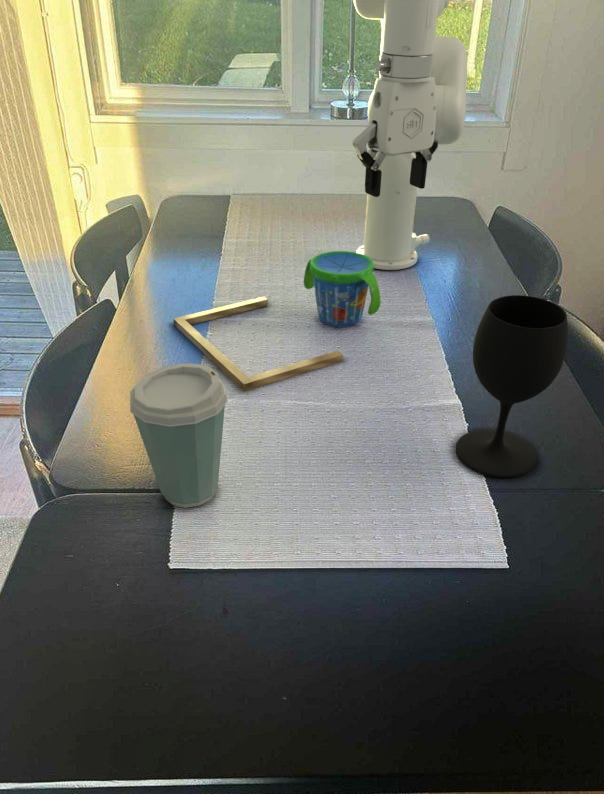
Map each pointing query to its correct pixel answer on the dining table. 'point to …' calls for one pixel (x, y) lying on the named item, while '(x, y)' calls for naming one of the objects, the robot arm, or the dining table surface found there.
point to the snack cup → (342, 286)
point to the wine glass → (513, 376)
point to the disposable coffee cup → (182, 429)
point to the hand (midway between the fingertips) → (394, 190)
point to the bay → (227, 366)
